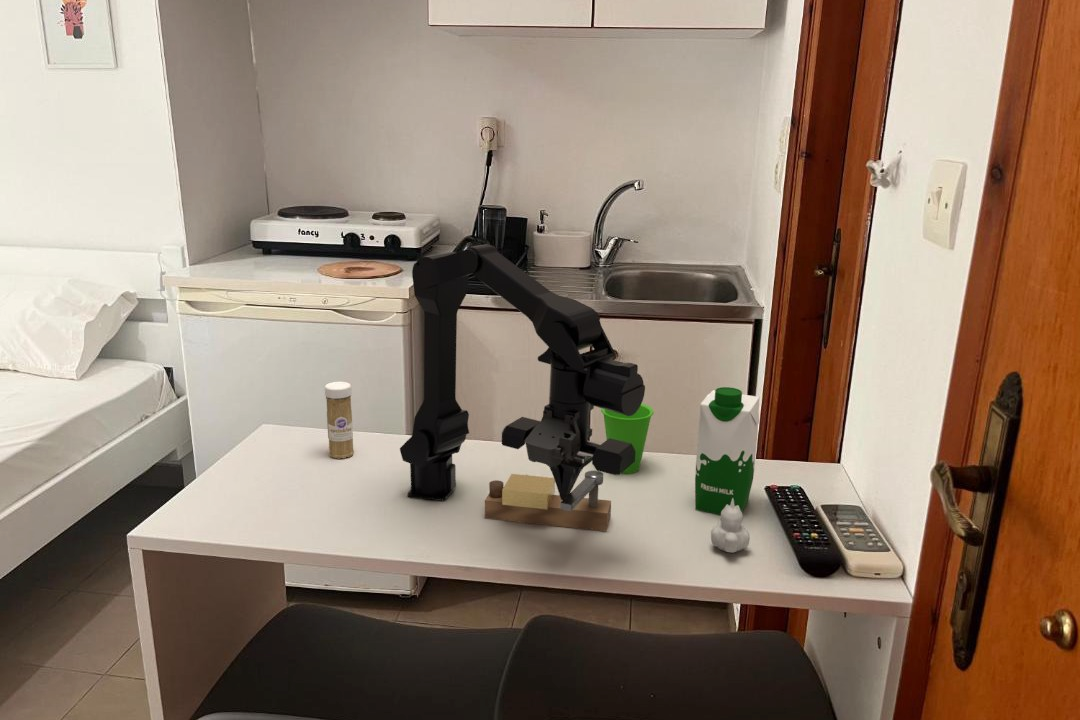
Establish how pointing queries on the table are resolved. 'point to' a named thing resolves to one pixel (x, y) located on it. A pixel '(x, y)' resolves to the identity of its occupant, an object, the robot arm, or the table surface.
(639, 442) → the cup
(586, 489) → the lever
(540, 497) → the gold metal plate
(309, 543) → the table surface
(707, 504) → the milk carton
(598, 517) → the body
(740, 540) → the white toy figurine
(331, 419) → the sprinkles bottle
